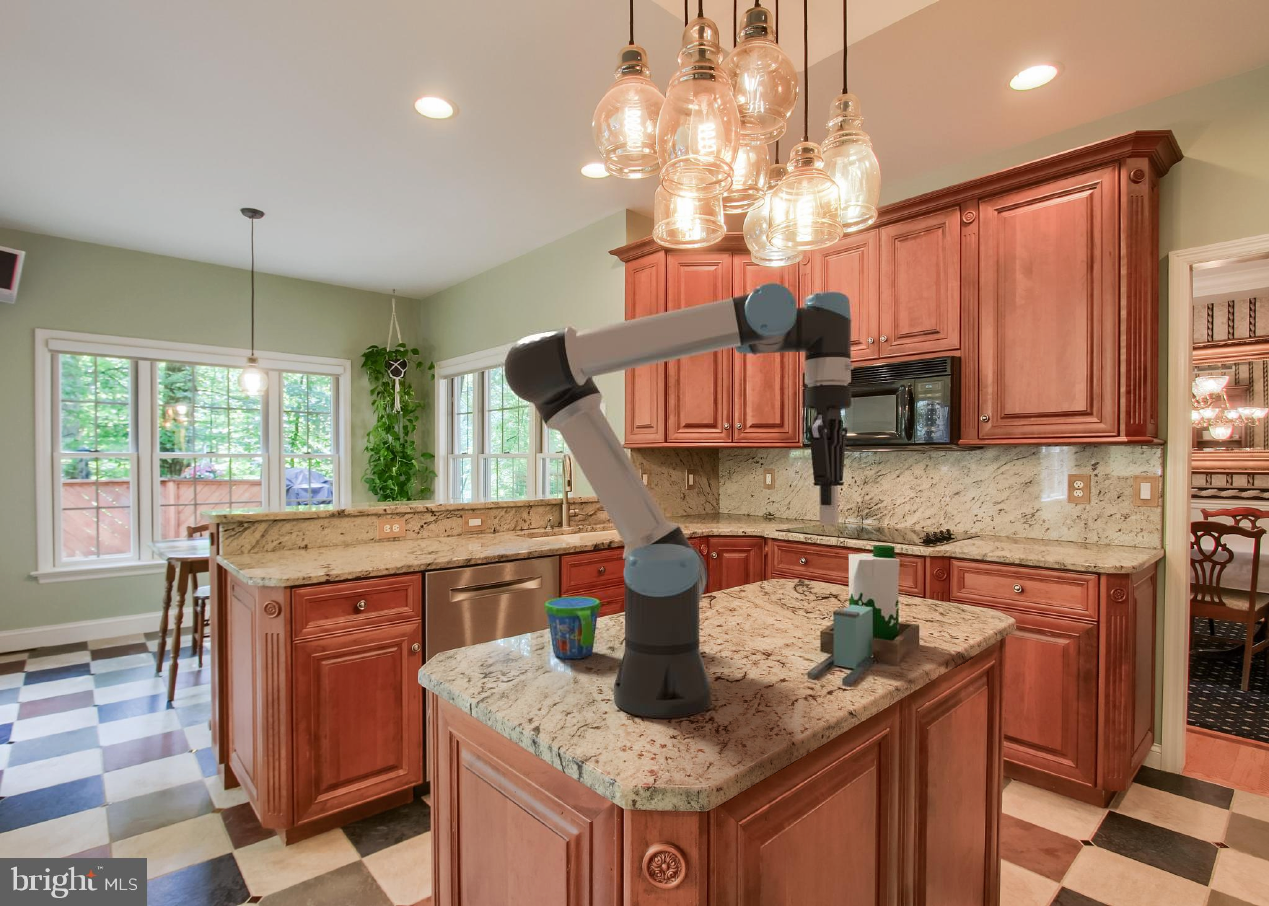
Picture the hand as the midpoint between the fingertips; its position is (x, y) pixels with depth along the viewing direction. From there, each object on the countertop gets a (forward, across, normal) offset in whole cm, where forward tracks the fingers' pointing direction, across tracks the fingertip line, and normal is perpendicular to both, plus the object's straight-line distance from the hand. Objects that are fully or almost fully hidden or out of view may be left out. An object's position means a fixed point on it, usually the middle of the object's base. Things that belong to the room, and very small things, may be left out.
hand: (828, 524), depth 107 cm
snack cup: (+27, -15, +45) cm, 54 cm away
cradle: (+26, +23, 0) cm, 35 cm away
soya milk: (+27, +25, 0) cm, 36 cm away
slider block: (+26, +12, 0) cm, 29 cm away
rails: (+26, +6, 0) cm, 27 cm away
